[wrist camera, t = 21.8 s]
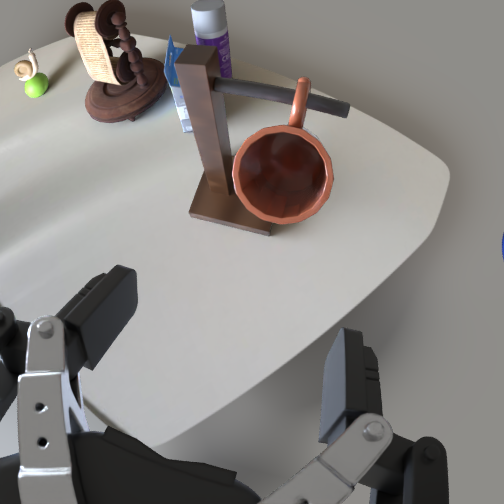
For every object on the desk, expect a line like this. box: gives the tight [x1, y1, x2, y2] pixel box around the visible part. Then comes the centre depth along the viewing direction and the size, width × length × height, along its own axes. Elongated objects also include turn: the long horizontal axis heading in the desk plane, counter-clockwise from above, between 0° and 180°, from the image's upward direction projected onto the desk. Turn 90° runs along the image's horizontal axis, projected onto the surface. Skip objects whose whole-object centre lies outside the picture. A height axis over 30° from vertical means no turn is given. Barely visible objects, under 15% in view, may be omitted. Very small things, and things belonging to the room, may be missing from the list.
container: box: [191, 0, 232, 79], centre depth 38 cm, size 5×5×15 cm
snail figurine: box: [14, 48, 48, 98], centre depth 42 cm, size 5×6×12 cm
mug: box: [232, 77, 334, 224], centre depth 23 cm, size 10×6×9 cm
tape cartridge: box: [164, 35, 193, 133], centre depth 37 cm, size 9×4×12 cm, turn 6°
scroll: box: [65, 0, 168, 123], centre depth 35 cm, size 15×15×20 cm
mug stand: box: [174, 45, 350, 236], centre depth 29 cm, size 14×9×22 cm, turn 75°
